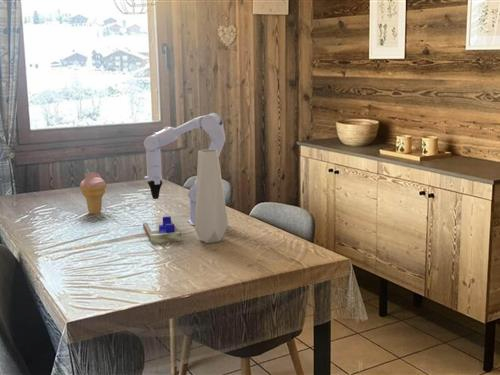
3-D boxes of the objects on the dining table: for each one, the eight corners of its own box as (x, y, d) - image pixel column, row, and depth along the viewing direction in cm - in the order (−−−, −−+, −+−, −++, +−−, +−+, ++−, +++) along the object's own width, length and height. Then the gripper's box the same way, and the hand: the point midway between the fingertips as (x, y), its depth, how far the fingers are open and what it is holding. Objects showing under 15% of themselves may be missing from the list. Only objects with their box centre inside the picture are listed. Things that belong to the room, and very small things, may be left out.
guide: (171, 225, 241) (170, 217, 240) (181, 240, 221) (181, 232, 220) (143, 227, 238) (142, 220, 237) (151, 243, 218) (150, 235, 217)
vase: (232, 236, 225) (231, 148, 218) (221, 245, 214) (218, 153, 207) (202, 233, 229) (199, 147, 222) (189, 242, 218) (186, 152, 211)
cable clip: (159, 232, 232) (158, 217, 231) (170, 231, 233) (170, 216, 232) (162, 241, 221) (161, 225, 219) (174, 240, 222) (174, 224, 221)
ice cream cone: (76, 214, 258) (73, 168, 254) (92, 208, 268) (89, 164, 264) (98, 217, 254) (94, 170, 250) (113, 210, 264) (110, 165, 260)
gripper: (141, 162, 248) (143, 195, 251) (146, 169, 234) (148, 203, 237) (158, 161, 250) (160, 194, 253) (164, 168, 236) (166, 201, 239)
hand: (155, 198), depth 245 cm, fingers closed
